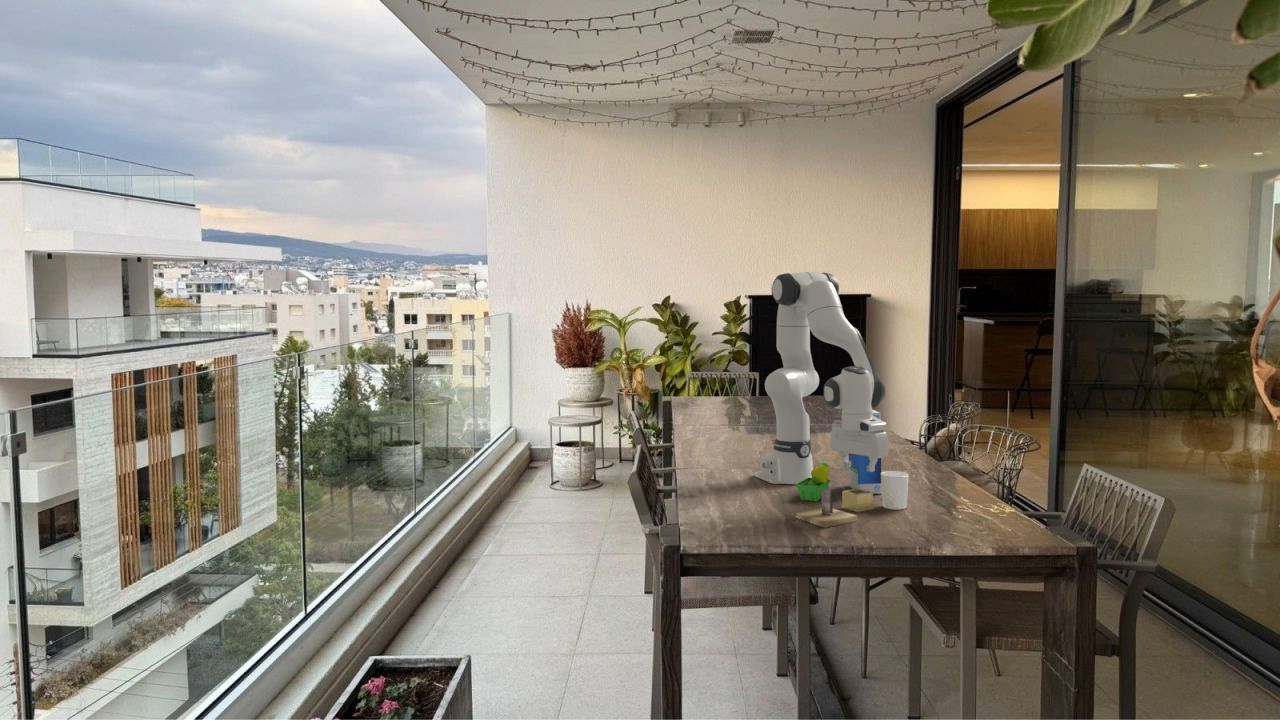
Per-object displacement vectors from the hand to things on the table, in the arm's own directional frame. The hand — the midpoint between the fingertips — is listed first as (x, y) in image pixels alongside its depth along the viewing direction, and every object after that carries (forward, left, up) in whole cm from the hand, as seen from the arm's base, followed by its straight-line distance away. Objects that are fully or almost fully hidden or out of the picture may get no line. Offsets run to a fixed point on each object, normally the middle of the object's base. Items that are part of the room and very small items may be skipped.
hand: (858, 469), depth 245 cm
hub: (-1, 0, -12) cm, 12 cm away
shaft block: (+3, -16, -12) cm, 20 cm away
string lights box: (-17, +19, -12) cm, 28 cm away
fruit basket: (-18, -1, -12) cm, 21 cm away
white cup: (+4, +10, -12) cm, 16 cm away
